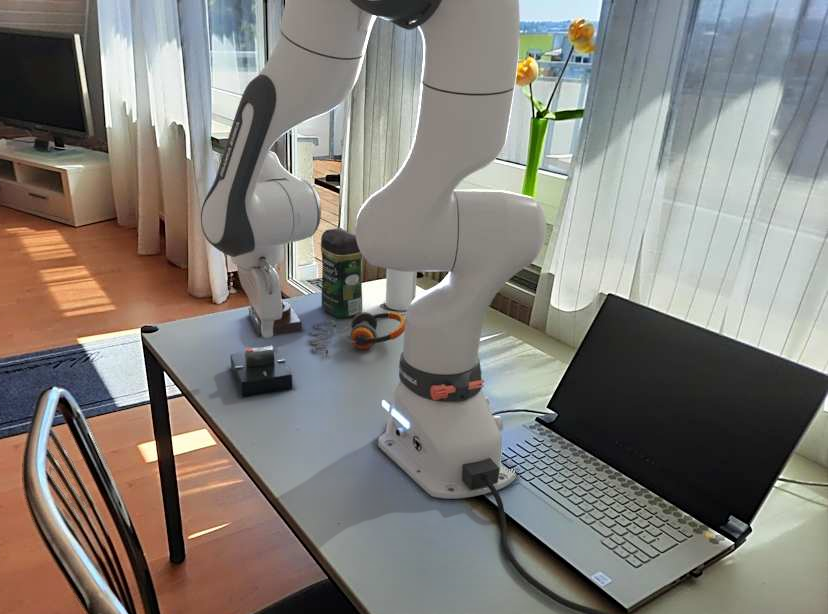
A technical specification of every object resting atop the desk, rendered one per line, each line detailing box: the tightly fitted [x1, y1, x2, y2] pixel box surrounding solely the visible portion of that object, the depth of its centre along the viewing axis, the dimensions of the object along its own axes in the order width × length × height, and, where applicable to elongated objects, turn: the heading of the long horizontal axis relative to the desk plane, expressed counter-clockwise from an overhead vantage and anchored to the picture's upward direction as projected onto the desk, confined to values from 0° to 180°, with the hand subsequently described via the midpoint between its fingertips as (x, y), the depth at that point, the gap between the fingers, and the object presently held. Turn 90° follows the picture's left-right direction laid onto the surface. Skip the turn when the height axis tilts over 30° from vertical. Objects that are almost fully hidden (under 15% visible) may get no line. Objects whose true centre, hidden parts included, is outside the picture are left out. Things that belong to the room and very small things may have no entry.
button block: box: [248, 300, 302, 337], centre depth 140 cm, size 11×9×4 cm
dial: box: [244, 345, 275, 368], centre depth 117 cm, size 5×2×3 cm, turn 110°
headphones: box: [310, 311, 405, 357], centre depth 133 cm, size 17×5×20 cm
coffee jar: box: [320, 227, 363, 319], centre depth 144 cm, size 10×8×19 cm
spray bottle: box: [385, 269, 418, 311], centre depth 147 cm, size 7×7×18 cm
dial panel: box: [230, 347, 293, 398], centre depth 119 cm, size 11×9×3 cm
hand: (261, 325), depth 115 cm, fingers open, 8 cm apart
